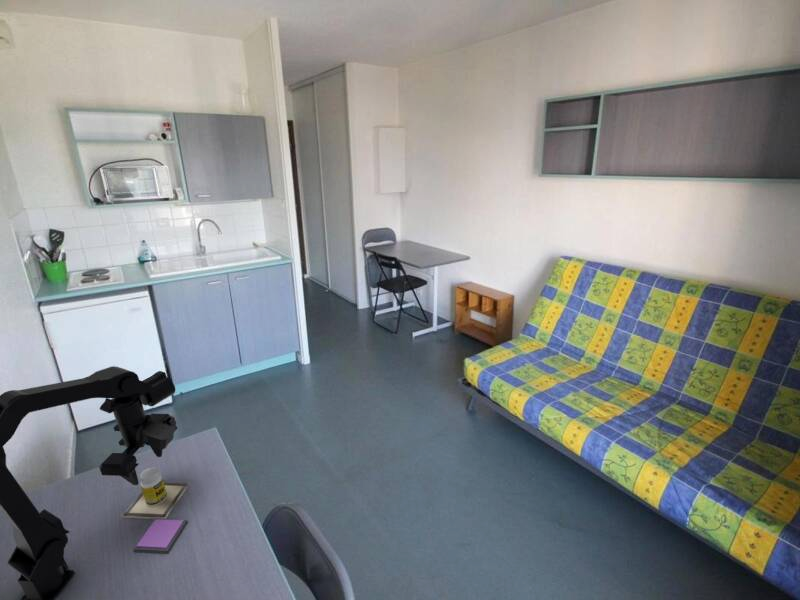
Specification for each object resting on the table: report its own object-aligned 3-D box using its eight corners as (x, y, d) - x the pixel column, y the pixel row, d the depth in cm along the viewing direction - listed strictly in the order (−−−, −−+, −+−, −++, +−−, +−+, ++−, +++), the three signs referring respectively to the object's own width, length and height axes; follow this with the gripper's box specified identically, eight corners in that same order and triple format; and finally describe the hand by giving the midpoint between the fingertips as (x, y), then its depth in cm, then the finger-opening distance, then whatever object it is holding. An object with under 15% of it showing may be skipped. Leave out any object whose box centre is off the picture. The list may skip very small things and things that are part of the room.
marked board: (165, 519, 102) (164, 517, 102) (122, 517, 103) (121, 516, 103) (189, 484, 112) (189, 482, 112) (150, 482, 113) (149, 481, 113)
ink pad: (168, 553, 93) (166, 549, 93) (133, 551, 94) (132, 547, 94) (187, 522, 101) (186, 518, 100) (156, 521, 102) (154, 517, 101)
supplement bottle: (161, 506, 105) (152, 480, 102) (142, 507, 105) (133, 480, 102) (171, 491, 109) (163, 465, 106) (153, 491, 109) (144, 466, 106)
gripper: (137, 446, 89) (156, 502, 95) (186, 394, 106) (199, 444, 112) (87, 444, 90) (109, 500, 96) (144, 393, 107) (159, 443, 113)
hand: (148, 470), depth 104 cm, fingers open, 9 cm apart
